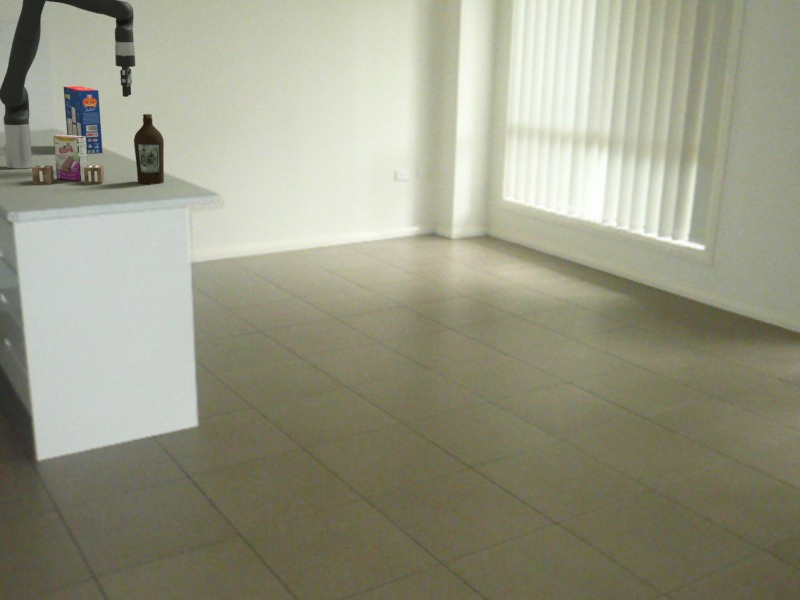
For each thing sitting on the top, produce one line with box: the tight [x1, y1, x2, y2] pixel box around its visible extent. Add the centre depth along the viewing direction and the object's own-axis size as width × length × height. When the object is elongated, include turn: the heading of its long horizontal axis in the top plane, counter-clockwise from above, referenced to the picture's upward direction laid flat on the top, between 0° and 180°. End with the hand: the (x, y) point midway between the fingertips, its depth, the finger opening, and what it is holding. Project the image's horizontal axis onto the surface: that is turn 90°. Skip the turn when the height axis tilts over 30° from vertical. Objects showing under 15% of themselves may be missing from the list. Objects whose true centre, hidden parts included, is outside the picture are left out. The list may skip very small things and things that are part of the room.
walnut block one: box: [31, 165, 55, 185], centre depth 334 cm, size 6×6×6 cm
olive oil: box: [133, 113, 165, 185], centre depth 338 cm, size 11×11×25 cm
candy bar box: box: [53, 134, 89, 182], centre depth 340 cm, size 11×5×16 cm, turn 71°
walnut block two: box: [84, 165, 105, 185], centre depth 337 cm, size 6×6×6 cm
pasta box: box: [63, 86, 104, 155], centre depth 421 cm, size 28×8×28 cm, turn 34°
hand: (127, 95), depth 367 cm, fingers open, 8 cm apart
